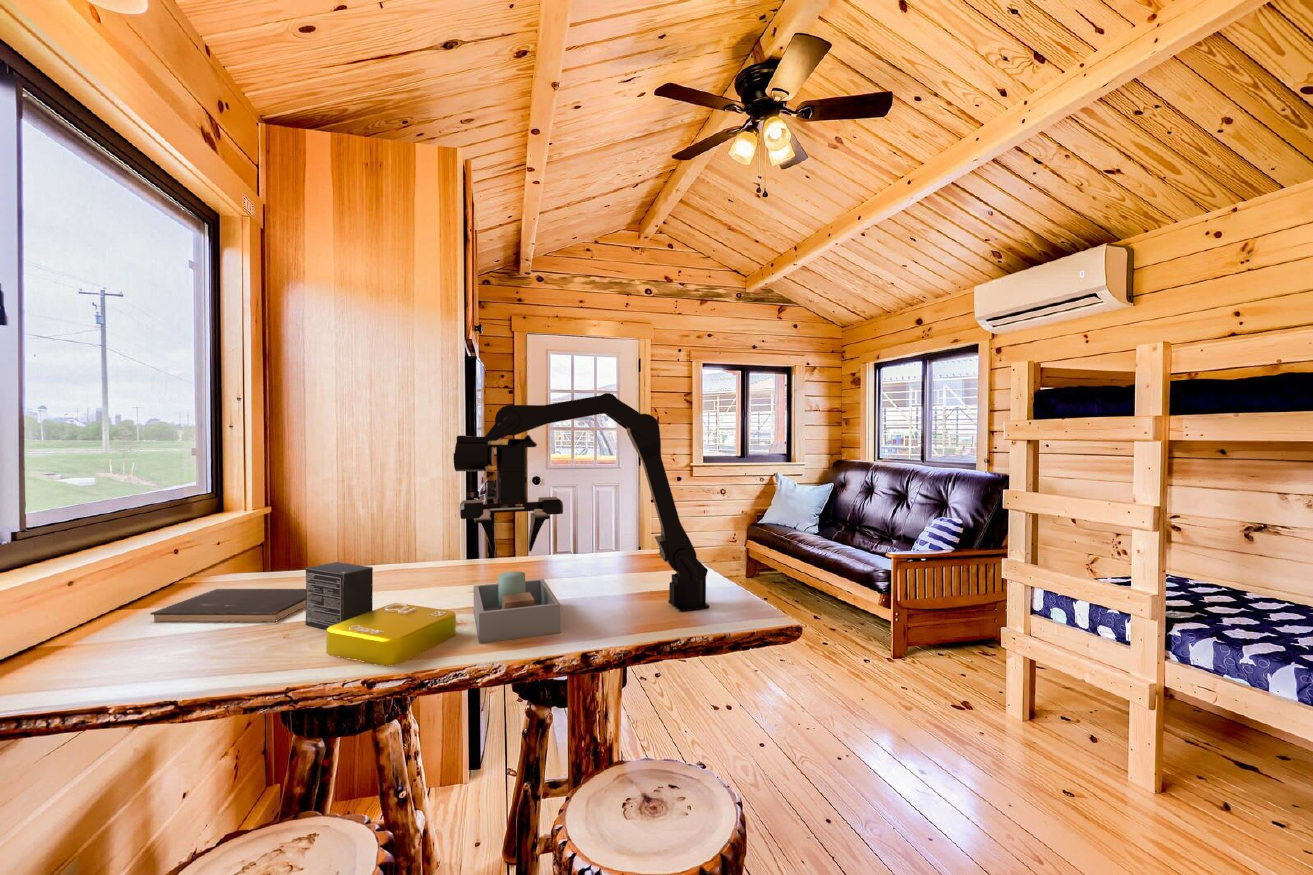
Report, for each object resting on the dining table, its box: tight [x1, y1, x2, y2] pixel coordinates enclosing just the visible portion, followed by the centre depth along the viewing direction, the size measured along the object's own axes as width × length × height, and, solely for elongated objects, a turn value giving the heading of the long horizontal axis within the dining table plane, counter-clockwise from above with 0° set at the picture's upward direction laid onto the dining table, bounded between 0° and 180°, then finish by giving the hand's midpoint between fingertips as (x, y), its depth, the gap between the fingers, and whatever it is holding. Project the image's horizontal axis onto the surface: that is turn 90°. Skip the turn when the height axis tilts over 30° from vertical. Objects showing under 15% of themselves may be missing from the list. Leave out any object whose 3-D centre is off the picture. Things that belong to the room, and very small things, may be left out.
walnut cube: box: [502, 592, 534, 609], centre depth 100 cm, size 5×5×5 cm
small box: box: [305, 561, 374, 630], centre depth 102 cm, size 11×6×10 cm, turn 65°
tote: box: [473, 578, 561, 644], centre depth 103 cm, size 14×18×5 cm
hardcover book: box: [149, 588, 306, 623], centre depth 111 cm, size 16×23×2 cm
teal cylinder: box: [497, 571, 526, 610], centre depth 107 cm, size 5×5×7 cm
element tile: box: [325, 602, 457, 667], centre depth 93 cm, size 15×15×5 cm
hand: (511, 552), depth 107 cm, fingers open, 6 cm apart
